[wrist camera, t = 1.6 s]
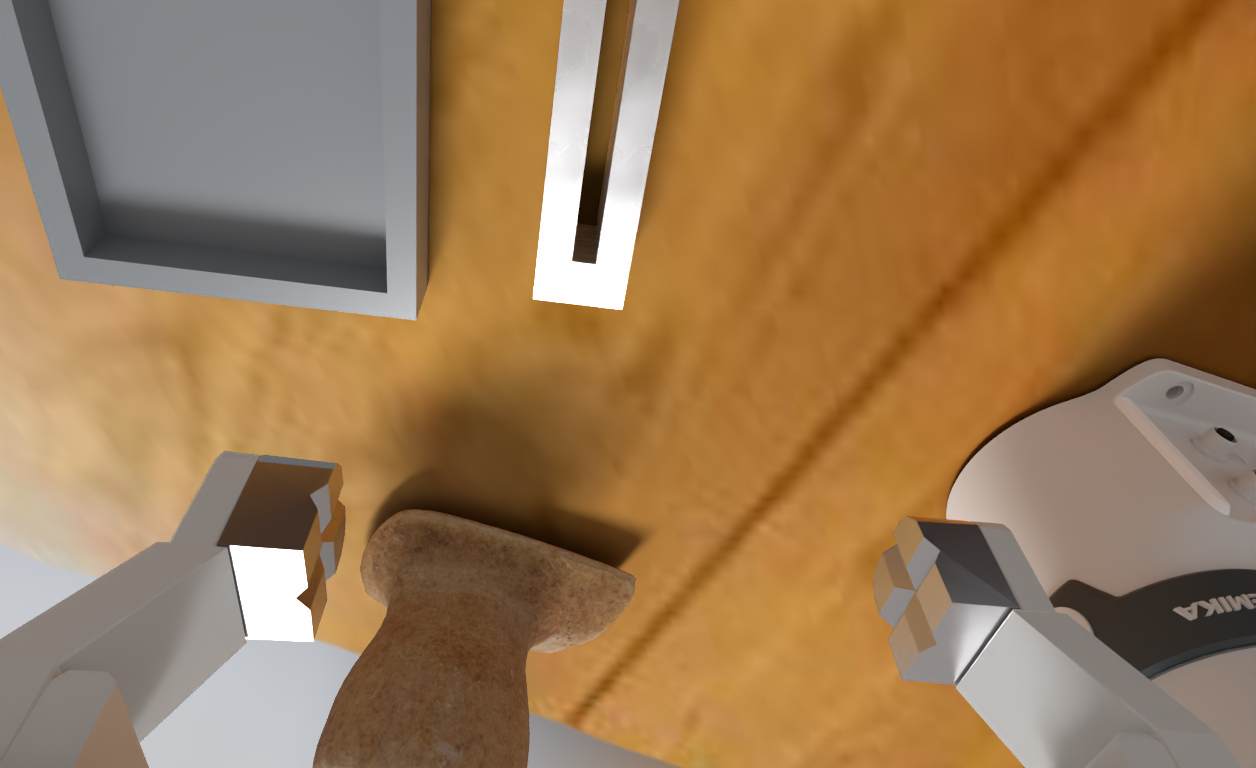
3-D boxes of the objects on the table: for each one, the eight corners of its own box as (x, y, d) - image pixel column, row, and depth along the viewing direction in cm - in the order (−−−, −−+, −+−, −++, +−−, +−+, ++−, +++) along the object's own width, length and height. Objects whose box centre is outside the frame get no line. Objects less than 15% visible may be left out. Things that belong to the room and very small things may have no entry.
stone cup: (338, 593, 51) (259, 846, 39) (400, 471, 44) (328, 729, 32) (556, 654, 55) (544, 897, 43) (639, 552, 49) (652, 803, 37)
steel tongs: (722, -291, 25) (738, -299, 22) (622, 269, 37) (624, 310, 34) (595, -319, 24) (594, -330, 22) (535, 258, 36) (530, 298, 34)
